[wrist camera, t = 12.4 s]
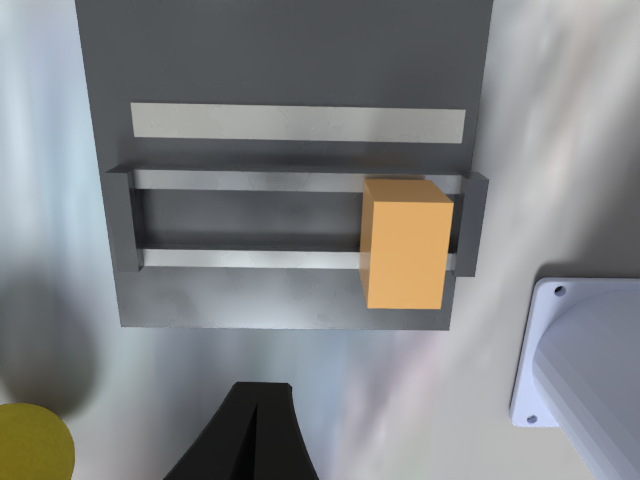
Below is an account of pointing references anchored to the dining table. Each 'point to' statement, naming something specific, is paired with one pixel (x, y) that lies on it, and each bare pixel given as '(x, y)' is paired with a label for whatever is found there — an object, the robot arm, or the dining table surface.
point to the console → (276, 150)
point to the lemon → (34, 444)
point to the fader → (404, 243)
